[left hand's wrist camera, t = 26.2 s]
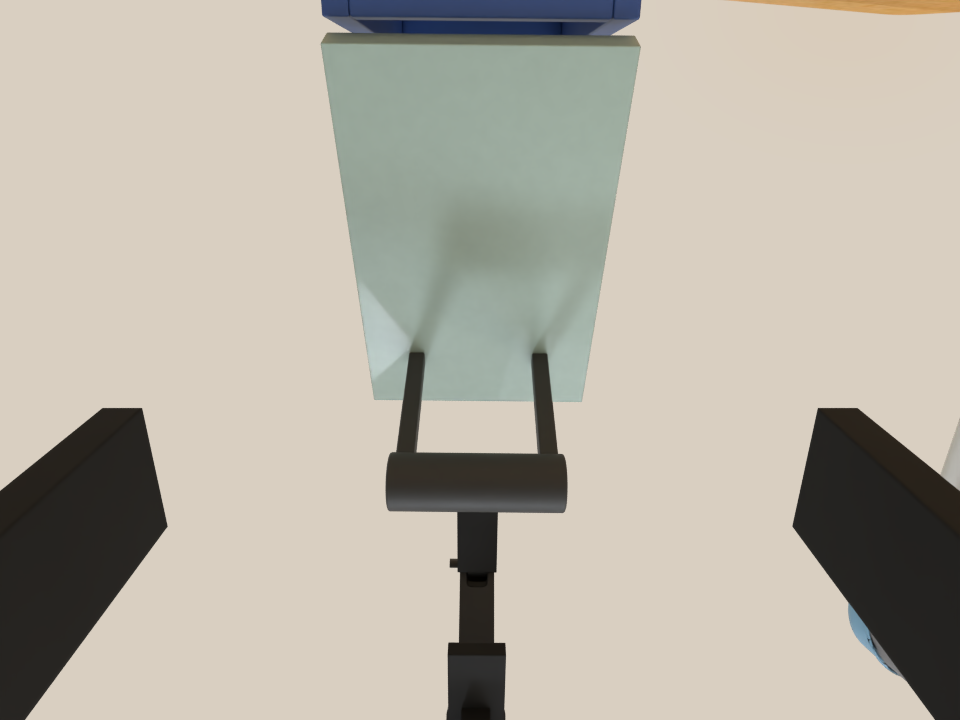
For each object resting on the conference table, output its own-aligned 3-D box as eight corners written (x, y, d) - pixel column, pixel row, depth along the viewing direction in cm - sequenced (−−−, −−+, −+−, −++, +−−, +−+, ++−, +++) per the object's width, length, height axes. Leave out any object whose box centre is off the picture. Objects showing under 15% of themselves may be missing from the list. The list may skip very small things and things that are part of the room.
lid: (579, 386, 32) (604, 550, 25) (376, 384, 32) (348, 547, 25) (635, 35, 21) (704, 161, 14) (326, 31, 21) (252, 156, 14)
